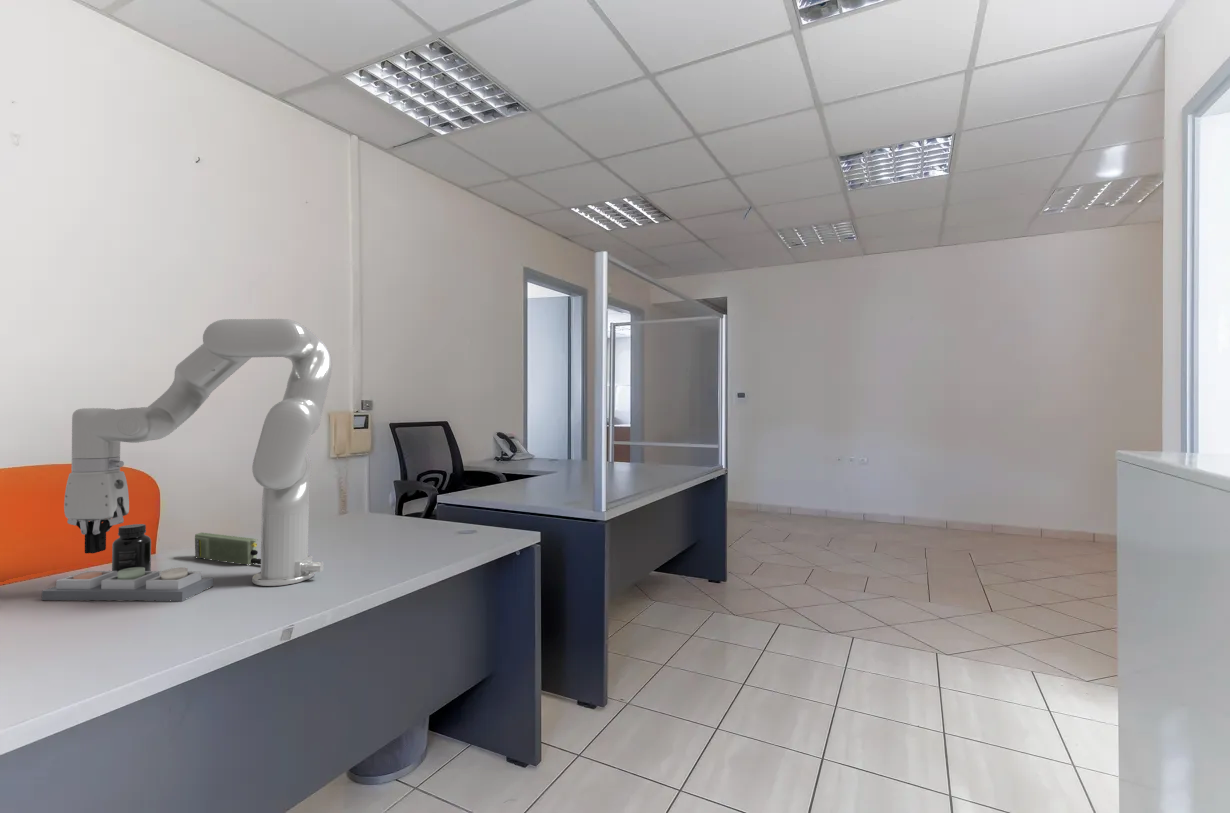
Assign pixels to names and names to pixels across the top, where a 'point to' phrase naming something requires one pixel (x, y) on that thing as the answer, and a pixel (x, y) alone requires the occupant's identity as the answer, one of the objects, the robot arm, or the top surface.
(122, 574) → the sage button
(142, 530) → the supplement bottle
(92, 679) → the top surface
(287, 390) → the robot arm
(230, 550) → the handheld radio
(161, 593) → the button panel
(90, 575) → the terracotta button
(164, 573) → the cream button
